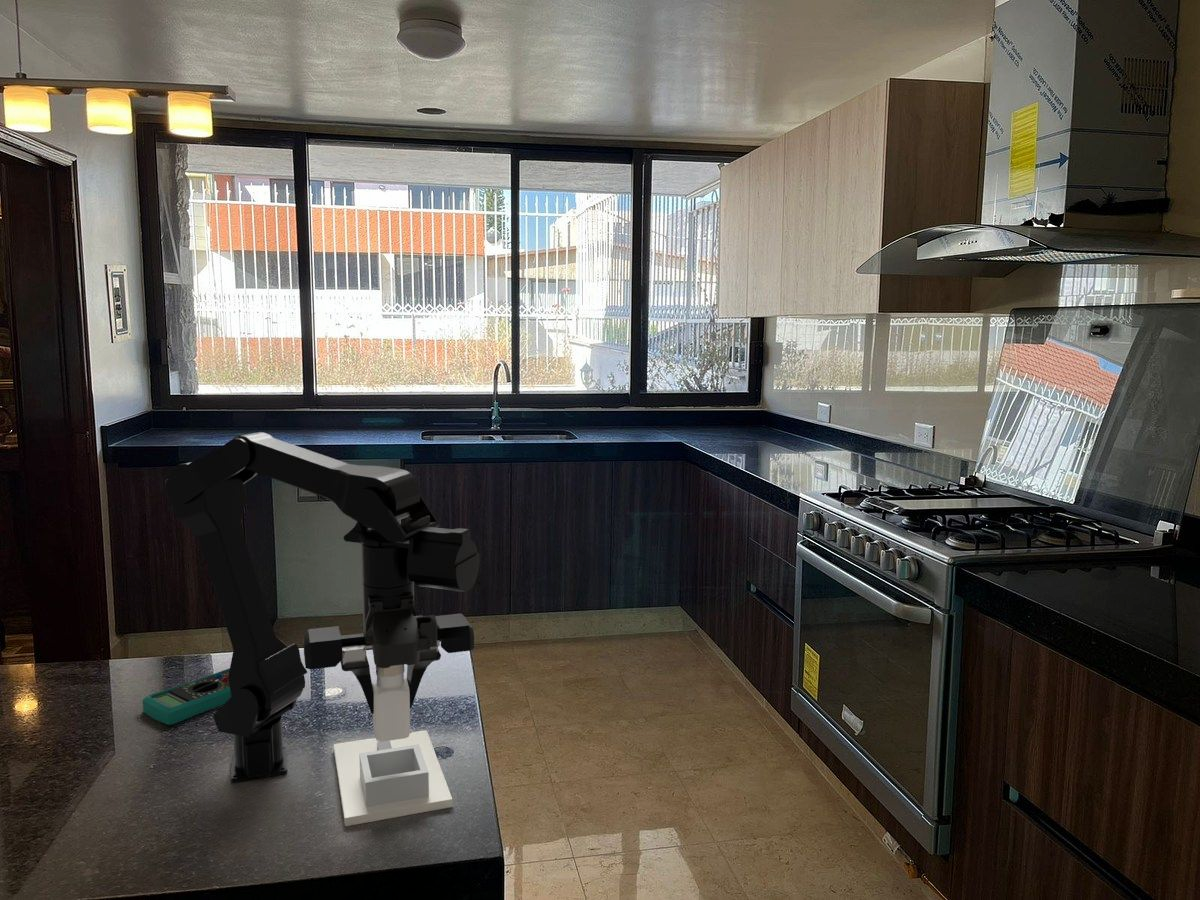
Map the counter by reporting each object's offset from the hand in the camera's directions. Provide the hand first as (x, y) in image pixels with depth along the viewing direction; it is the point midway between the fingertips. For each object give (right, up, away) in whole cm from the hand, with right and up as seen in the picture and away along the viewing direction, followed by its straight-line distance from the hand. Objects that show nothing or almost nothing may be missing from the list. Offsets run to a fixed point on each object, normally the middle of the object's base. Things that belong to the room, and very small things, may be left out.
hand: (391, 709), depth 104 cm
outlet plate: (-1, -10, +5) cm, 11 cm away
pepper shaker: (0, -3, 0) cm, 3 cm away
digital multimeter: (-33, -7, +26) cm, 43 cm away
